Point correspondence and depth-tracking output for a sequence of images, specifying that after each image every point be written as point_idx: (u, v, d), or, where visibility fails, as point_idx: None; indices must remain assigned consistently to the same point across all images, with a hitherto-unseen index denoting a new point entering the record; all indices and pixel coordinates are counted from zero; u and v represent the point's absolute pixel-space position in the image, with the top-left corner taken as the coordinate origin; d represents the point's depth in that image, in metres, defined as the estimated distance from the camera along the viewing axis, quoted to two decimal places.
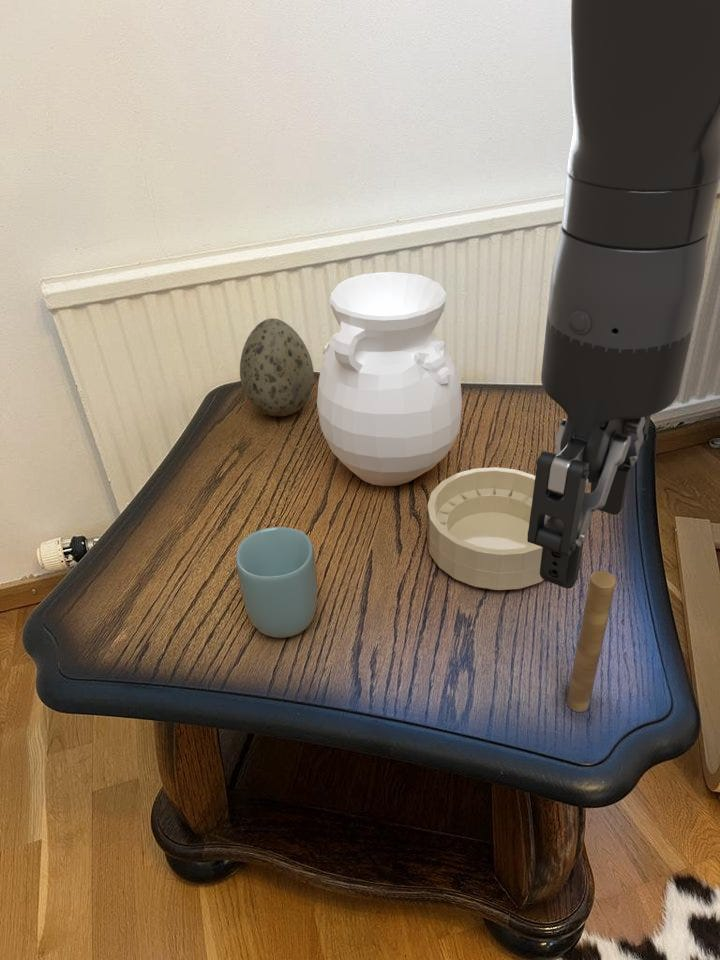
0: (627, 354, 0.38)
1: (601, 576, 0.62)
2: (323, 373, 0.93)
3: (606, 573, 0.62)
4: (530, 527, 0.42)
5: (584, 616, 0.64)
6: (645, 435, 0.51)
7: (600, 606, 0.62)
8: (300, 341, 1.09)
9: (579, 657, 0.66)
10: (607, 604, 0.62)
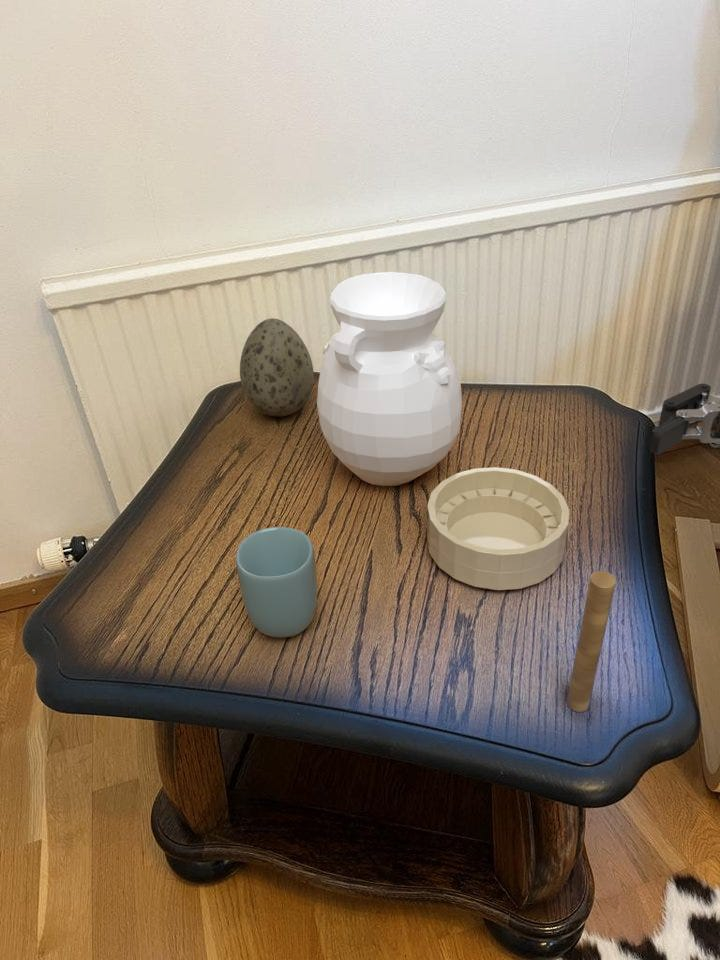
0: None
1: (601, 576, 0.62)
2: (323, 373, 0.93)
3: (606, 573, 0.62)
4: None
5: (584, 616, 0.64)
6: None
7: (600, 606, 0.62)
8: (300, 341, 1.09)
9: (579, 657, 0.66)
10: (607, 604, 0.62)
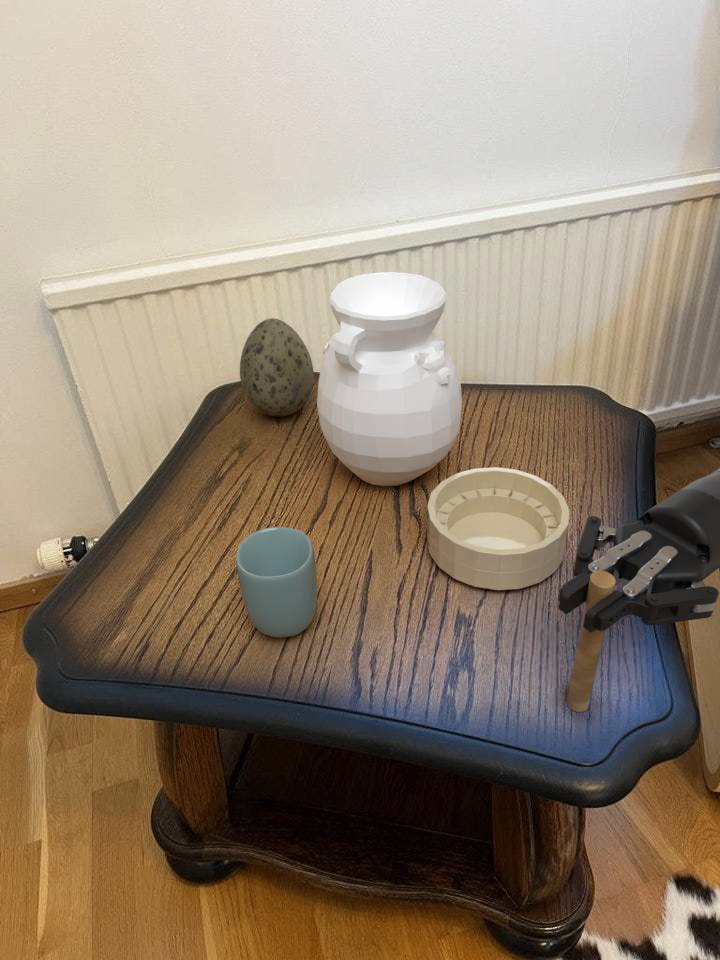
0: None
1: (601, 576, 0.62)
2: (323, 373, 0.93)
3: (606, 573, 0.62)
4: None
5: (584, 616, 0.64)
6: (656, 596, 0.60)
7: None
8: (300, 341, 1.09)
9: (579, 657, 0.66)
10: None
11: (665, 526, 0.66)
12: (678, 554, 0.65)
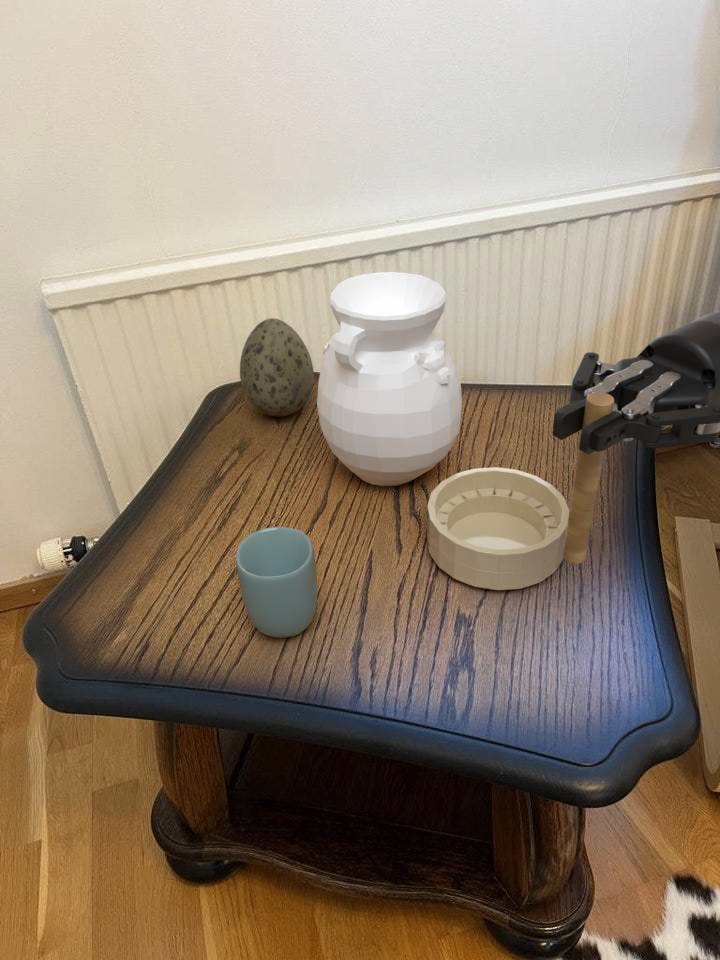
0: None
1: (598, 396, 0.57)
2: (323, 373, 0.93)
3: (604, 394, 0.57)
4: None
5: None
6: (657, 415, 0.56)
7: None
8: (300, 341, 1.09)
9: (575, 496, 0.62)
10: None
11: (667, 356, 0.62)
12: (681, 381, 0.60)
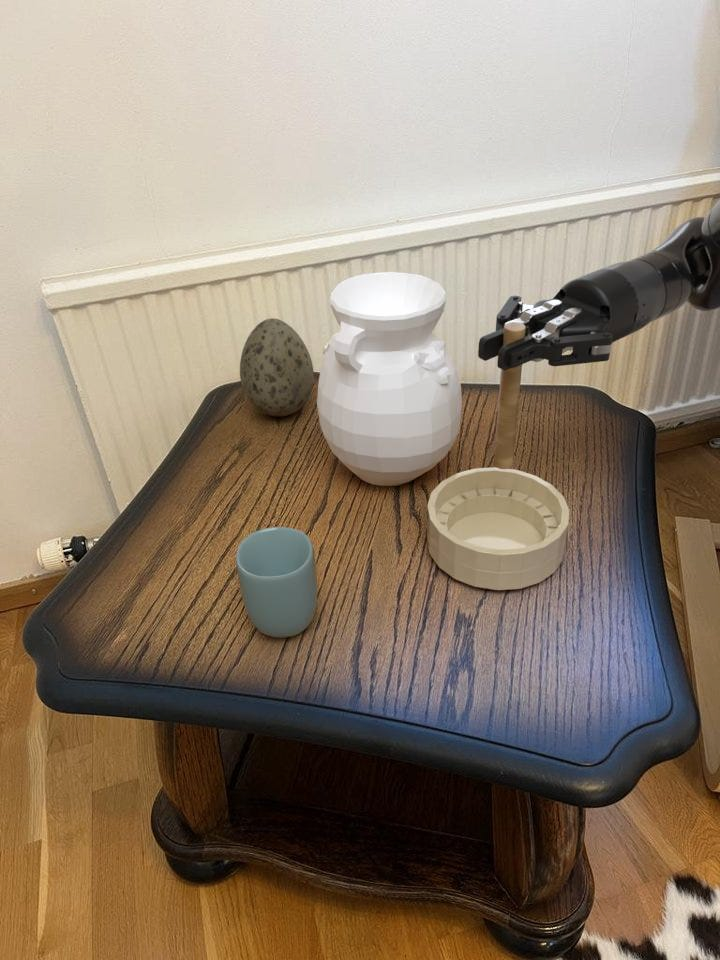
0: None
1: (513, 325, 0.72)
2: (323, 373, 0.93)
3: (518, 323, 0.72)
4: None
5: None
6: (559, 338, 0.71)
7: None
8: (300, 341, 1.09)
9: (500, 410, 0.77)
10: None
11: (574, 297, 0.77)
12: (583, 315, 0.75)
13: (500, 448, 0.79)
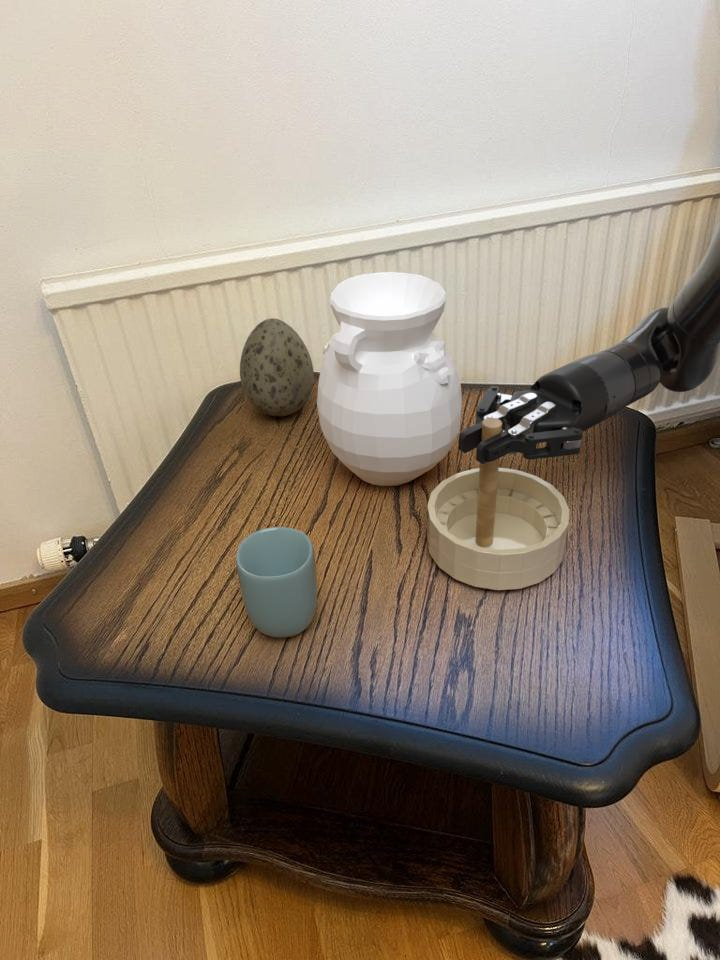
0: None
1: (491, 421, 0.77)
2: (323, 373, 0.93)
3: (495, 419, 0.78)
4: None
5: None
6: (533, 435, 0.76)
7: None
8: (300, 341, 1.09)
9: (480, 495, 0.82)
10: None
11: (549, 390, 0.82)
12: (557, 409, 0.80)
13: (480, 528, 0.84)
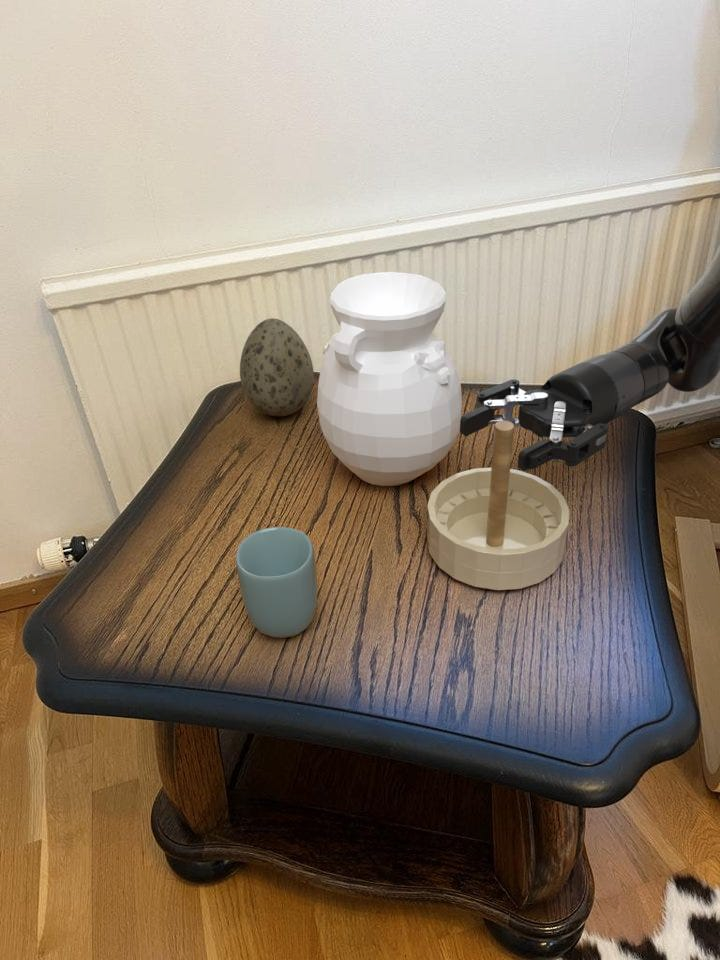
0: None
1: (503, 423, 0.79)
2: (323, 373, 0.93)
3: (507, 422, 0.79)
4: None
5: (492, 459, 0.81)
6: None
7: (502, 447, 0.79)
8: (300, 341, 1.09)
9: (491, 496, 0.84)
10: (508, 446, 0.79)
11: (560, 389, 0.84)
12: (568, 408, 0.82)
13: (491, 529, 0.86)
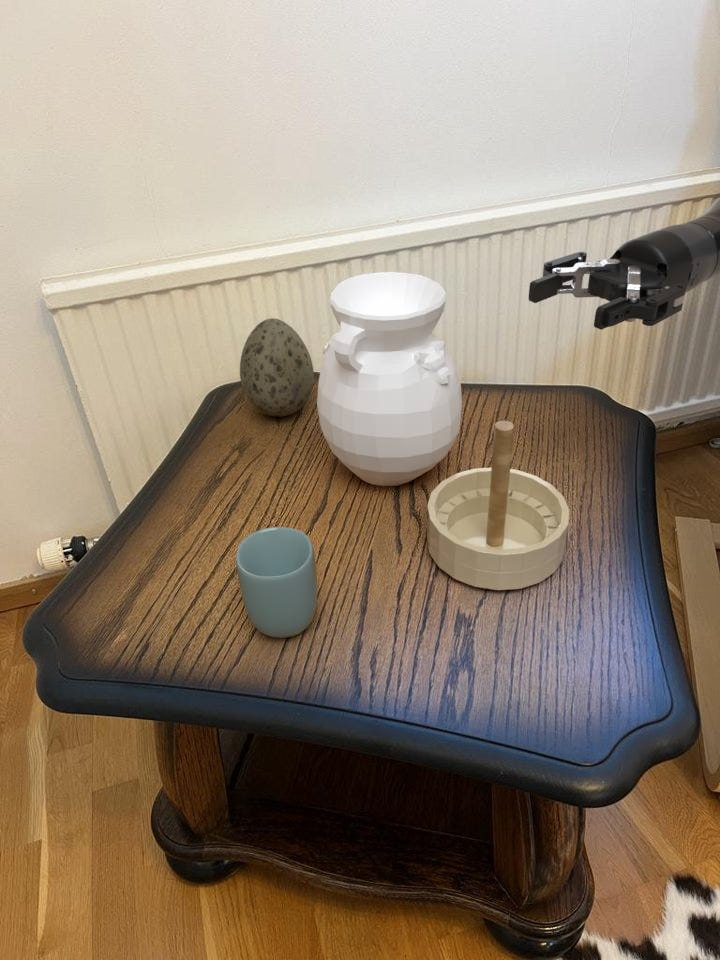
0: None
1: (503, 423, 0.79)
2: (323, 373, 0.93)
3: (507, 422, 0.79)
4: None
5: (492, 459, 0.81)
6: (653, 298, 0.73)
7: (502, 447, 0.79)
8: (300, 341, 1.09)
9: (491, 496, 0.84)
10: (508, 446, 0.79)
11: (631, 257, 0.80)
12: (641, 273, 0.78)
13: (491, 529, 0.86)
